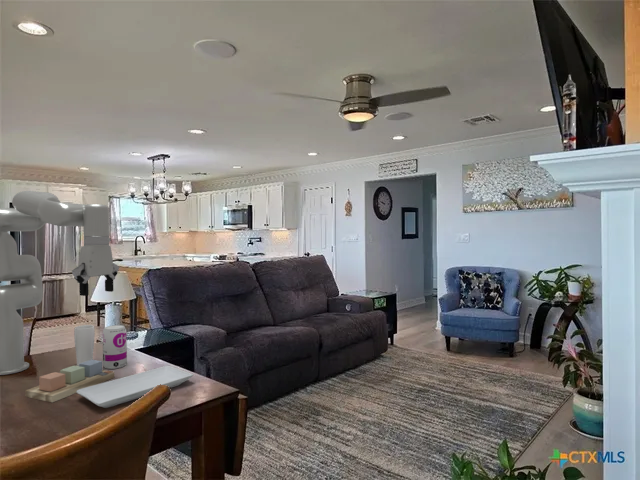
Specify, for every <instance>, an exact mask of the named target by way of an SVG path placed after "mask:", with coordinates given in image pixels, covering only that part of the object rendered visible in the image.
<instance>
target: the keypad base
mask: <svg viewBox="0 0 640 480" xmlns="http://www.w3.org/2000/svg"><path fill="white" fill-rule="evenodd" d="M115 377H116V376H115V371H113V370H105V369H102V373H100V374H97V375H94V376H92V377H86V376H85V379H84V380H81V381H78V382H76V383H73V384H67V383H65V387H62V388H60V389H57V390H54V391H52V392H48V391H43V390H39V385H37V386H34V387H31V388H28V389H26V390H24V392H25V395H24V396H25V397H26V398H30V399H34V400H40V401H43V402H49V403H54V402H57V401H60V400H63V399H64V398H67V397H70V396H72V395H75V394H77V393H76V391H77V390H79V389H82V388H86V387H89V386H93V385H97V384H101V383H104V382H108V381H111V380H113V379H115Z"/></svg>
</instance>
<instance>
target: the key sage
mask: <svg viewBox="0 0 640 480" xmlns="http://www.w3.org/2000/svg"><path fill="white" fill-rule="evenodd" d="M59 373H63V374H65V383H67V384H69V385H72V384H75V383H76V382H78V381H81V380H84V379H85V367H80V366H77V365H72V366H71V365H70V366H67V367H65V368H62V369H60V370H59Z"/></svg>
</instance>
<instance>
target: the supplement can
mask: <svg viewBox="0 0 640 480" xmlns="http://www.w3.org/2000/svg"><path fill="white" fill-rule="evenodd" d="M127 333H128V332H127V328H126V327H125V325H123V324H115V325H107V326H105V327H104V329H103V330H102V367H104V369H108V370H115V369H120V368H124V367H125V366H126V365H127V364H128V360H127V359H128V355H127V353H128V349H127V347H128V343H127V340H128V339H127Z"/></svg>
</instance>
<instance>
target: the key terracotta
mask: <svg viewBox="0 0 640 480" xmlns="http://www.w3.org/2000/svg"><path fill="white" fill-rule="evenodd" d="M38 380H39V381H38V383H39V384H38V386H39V390H43V391H48V392H49V393H51V392H54V391H56V390H57V389H60V388H62V387H65V374H63V373H60V372H56V371H53V372H51V373H47V374H44V375H41V376H39V377H38Z"/></svg>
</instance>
